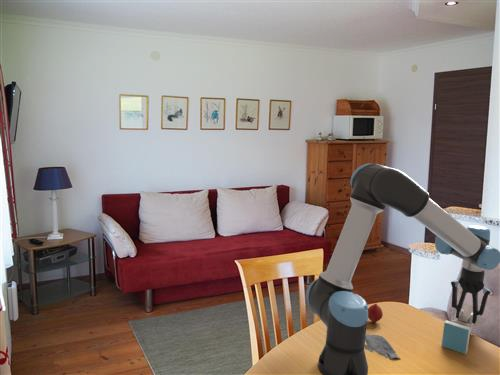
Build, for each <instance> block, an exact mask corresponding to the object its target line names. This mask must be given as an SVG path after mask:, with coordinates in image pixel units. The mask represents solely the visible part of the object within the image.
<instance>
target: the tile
mask: <svg viewBox="0 0 500 375" xmlns="http://www.w3.org/2000/svg"><path fill="white" fill-rule="evenodd" d="M443 324H444V325H443V332H442V339H441V347H444V348H446V349H449V350H452V351H455V352H457V353H460V354H464V355H467V354H468V349H469V342H470V335H471V332H470V330H471V328H470V327H467V326H463V325H460V324H457V323H454V322H451V321H450V320H445V321H444V323H443ZM471 331H472V330H471Z"/></svg>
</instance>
